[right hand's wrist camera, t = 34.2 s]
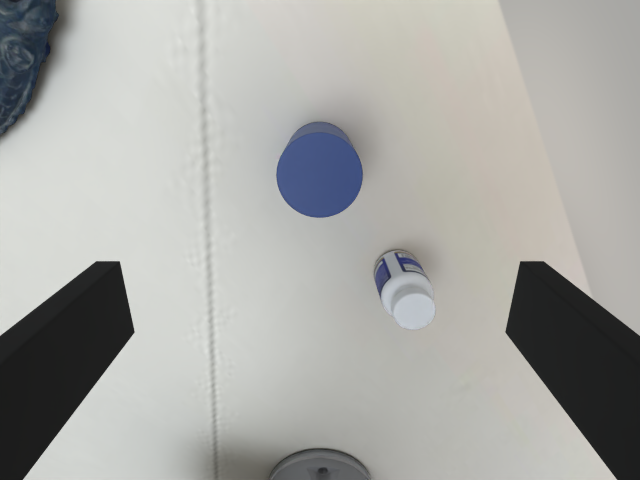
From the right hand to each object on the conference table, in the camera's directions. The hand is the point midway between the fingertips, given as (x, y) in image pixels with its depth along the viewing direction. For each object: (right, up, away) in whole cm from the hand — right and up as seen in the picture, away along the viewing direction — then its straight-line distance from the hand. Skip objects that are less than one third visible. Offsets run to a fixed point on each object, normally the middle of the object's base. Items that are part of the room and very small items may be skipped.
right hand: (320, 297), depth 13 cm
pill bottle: (+9, -2, +31) cm, 32 cm away
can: (0, +10, +27) cm, 28 cm away
